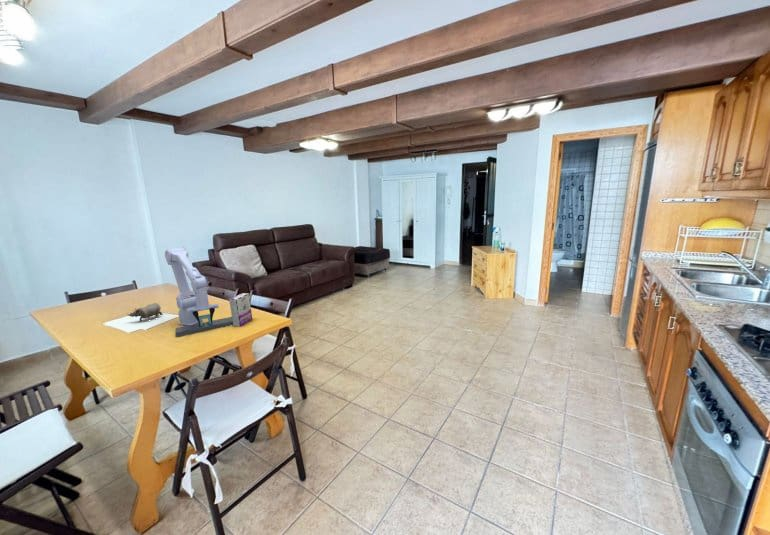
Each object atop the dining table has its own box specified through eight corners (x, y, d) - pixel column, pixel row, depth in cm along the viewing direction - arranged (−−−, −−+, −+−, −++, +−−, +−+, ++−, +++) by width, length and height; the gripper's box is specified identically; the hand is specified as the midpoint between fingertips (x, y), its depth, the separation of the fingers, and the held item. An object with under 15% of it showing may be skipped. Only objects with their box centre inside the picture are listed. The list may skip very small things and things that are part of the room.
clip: (200, 328, 163) (199, 317, 162) (200, 327, 165) (198, 316, 164) (211, 326, 166) (210, 315, 165) (211, 324, 168) (209, 314, 167)
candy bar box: (245, 319, 179) (242, 292, 175) (252, 319, 178) (249, 293, 174) (232, 326, 168) (228, 298, 164) (240, 327, 167) (236, 299, 163)
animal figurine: (170, 312, 186) (149, 296, 177) (152, 330, 179) (128, 315, 170) (166, 310, 191) (145, 295, 182) (148, 328, 184) (125, 313, 175)
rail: (175, 337, 155) (175, 332, 155) (176, 332, 162) (175, 327, 161) (235, 324, 170) (234, 320, 170) (233, 320, 177) (232, 316, 176)
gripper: (186, 303, 155) (190, 328, 158) (217, 298, 163) (221, 321, 166) (186, 300, 161) (189, 323, 164) (216, 295, 169) (219, 318, 172)
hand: (205, 322), depth 165 cm, fingers closed on clip, 5 cm apart
